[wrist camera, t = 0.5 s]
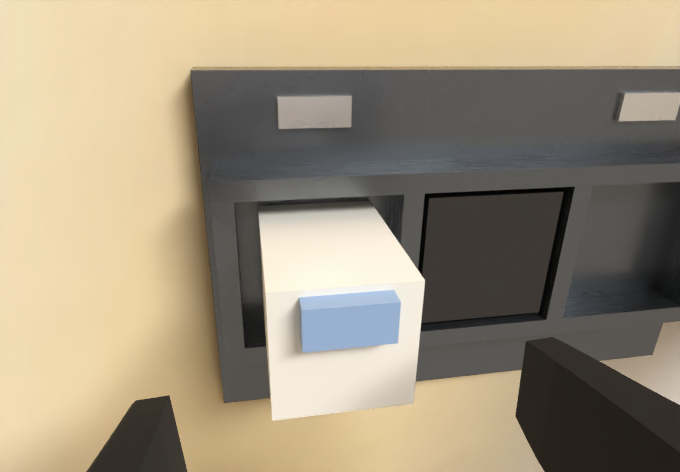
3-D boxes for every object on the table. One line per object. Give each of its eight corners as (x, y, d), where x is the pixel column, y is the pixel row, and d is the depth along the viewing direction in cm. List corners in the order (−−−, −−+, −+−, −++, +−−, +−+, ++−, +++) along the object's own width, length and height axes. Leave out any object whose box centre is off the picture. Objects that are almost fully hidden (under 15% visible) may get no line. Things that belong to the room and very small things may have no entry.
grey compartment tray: (722, 66, 20) (788, 73, 17) (637, 342, 25) (678, 376, 22) (193, 67, 16) (185, 76, 14) (224, 386, 21) (222, 432, 19)
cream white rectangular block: (369, 200, 18) (433, 292, 12) (366, 296, 20) (420, 418, 14) (257, 206, 17) (266, 306, 11) (263, 305, 19) (273, 437, 13)
